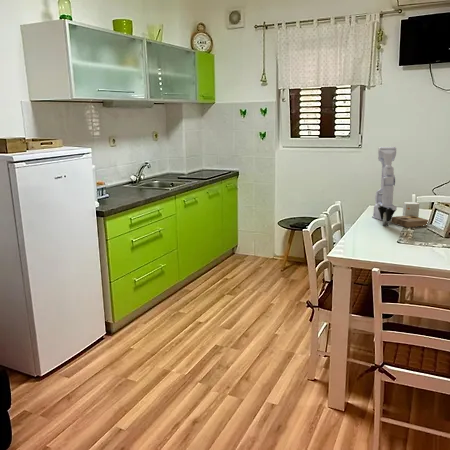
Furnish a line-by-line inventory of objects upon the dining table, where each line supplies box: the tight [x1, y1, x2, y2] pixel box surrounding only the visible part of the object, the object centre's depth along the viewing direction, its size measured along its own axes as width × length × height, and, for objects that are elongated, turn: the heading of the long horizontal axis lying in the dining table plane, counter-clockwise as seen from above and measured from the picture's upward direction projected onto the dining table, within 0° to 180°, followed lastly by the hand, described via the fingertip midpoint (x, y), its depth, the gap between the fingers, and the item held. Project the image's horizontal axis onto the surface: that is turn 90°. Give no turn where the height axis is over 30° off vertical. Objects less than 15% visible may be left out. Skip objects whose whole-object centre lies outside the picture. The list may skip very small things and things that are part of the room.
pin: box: [382, 212, 390, 227], centre depth 252 cm, size 3×3×8 cm
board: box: [390, 215, 429, 229], centre depth 255 cm, size 14×14×4 cm
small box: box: [402, 201, 420, 217], centre depth 266 cm, size 8×6×10 cm
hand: (385, 220), depth 252 cm, fingers open, 5 cm apart
